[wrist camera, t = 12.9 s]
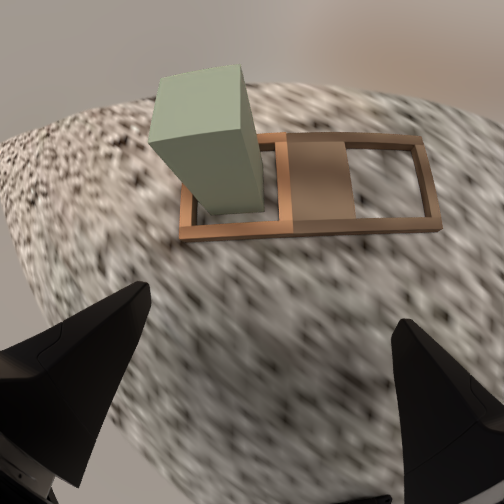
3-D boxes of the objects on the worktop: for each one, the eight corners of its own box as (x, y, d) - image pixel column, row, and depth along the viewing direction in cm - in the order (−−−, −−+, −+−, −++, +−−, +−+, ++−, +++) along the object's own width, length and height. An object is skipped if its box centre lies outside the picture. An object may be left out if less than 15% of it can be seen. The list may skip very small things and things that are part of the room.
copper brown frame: (436, 232, 21) (444, 228, 20) (184, 242, 24) (178, 238, 23) (417, 142, 23) (422, 135, 21) (190, 149, 26) (185, 142, 24)
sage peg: (264, 211, 24) (240, 128, 12) (211, 215, 24) (147, 142, 12) (262, 163, 24) (240, 64, 13) (212, 167, 25) (160, 78, 13)
